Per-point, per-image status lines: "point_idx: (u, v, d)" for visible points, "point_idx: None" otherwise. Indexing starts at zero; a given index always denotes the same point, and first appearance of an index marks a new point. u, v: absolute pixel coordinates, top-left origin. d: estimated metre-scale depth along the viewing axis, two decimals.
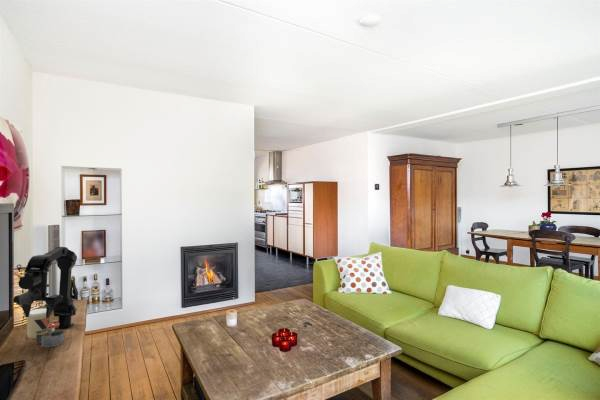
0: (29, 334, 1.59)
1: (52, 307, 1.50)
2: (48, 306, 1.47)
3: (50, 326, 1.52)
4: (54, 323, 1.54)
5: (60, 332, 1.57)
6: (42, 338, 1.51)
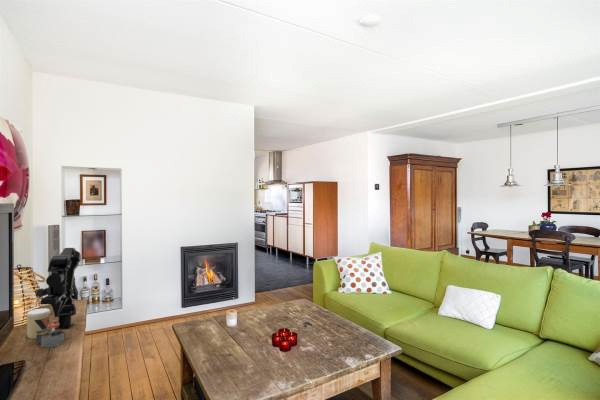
0: (29, 334, 1.59)
1: (57, 305, 1.57)
2: None
3: (50, 326, 1.52)
4: (54, 323, 1.54)
5: (60, 332, 1.57)
6: (42, 338, 1.51)
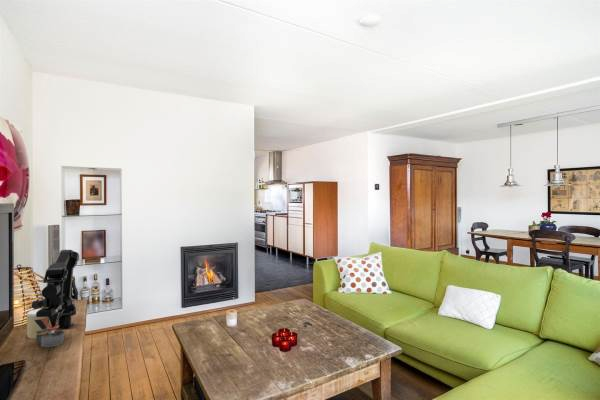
0: (29, 334, 1.59)
1: (54, 317, 1.53)
2: None
3: (50, 328, 1.52)
4: None
5: (60, 332, 1.57)
6: (42, 338, 1.51)
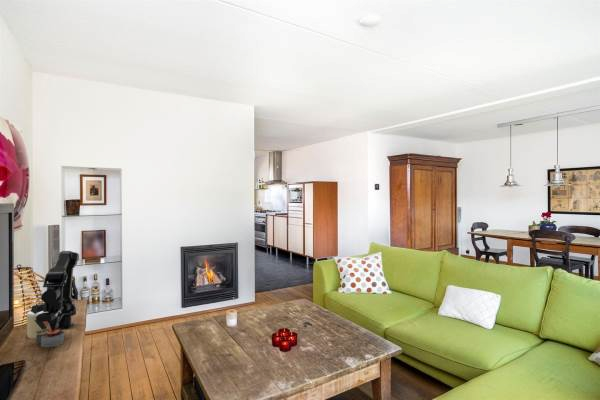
0: (29, 334, 1.59)
1: (54, 321, 1.53)
2: None
3: (50, 333, 1.52)
4: (54, 330, 1.54)
5: (60, 332, 1.57)
6: (42, 338, 1.51)
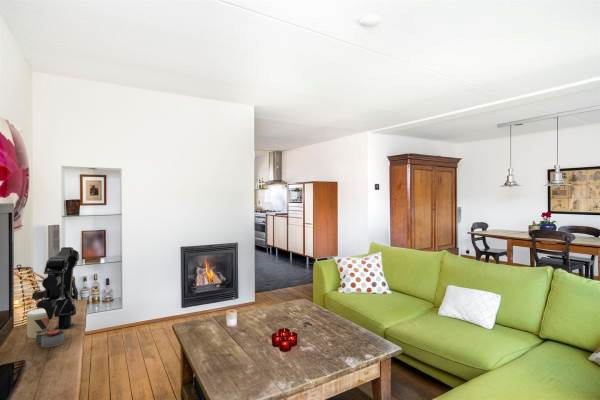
0: (29, 334, 1.59)
1: (51, 310, 1.50)
2: None
3: (50, 333, 1.52)
4: (54, 330, 1.54)
5: (60, 332, 1.57)
6: (42, 338, 1.51)
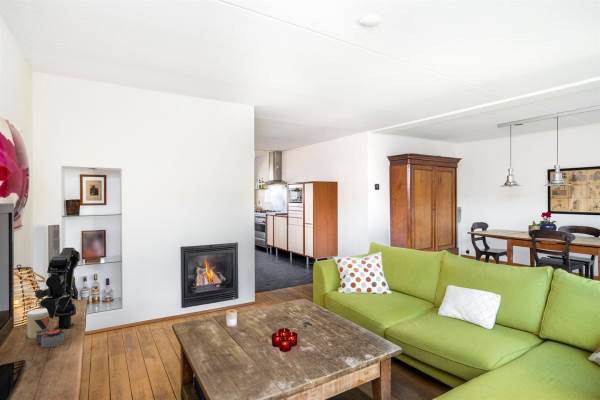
0: (29, 334, 1.59)
1: (52, 309, 1.52)
2: None
3: (50, 333, 1.52)
4: (54, 330, 1.54)
5: (60, 332, 1.57)
6: (42, 338, 1.51)
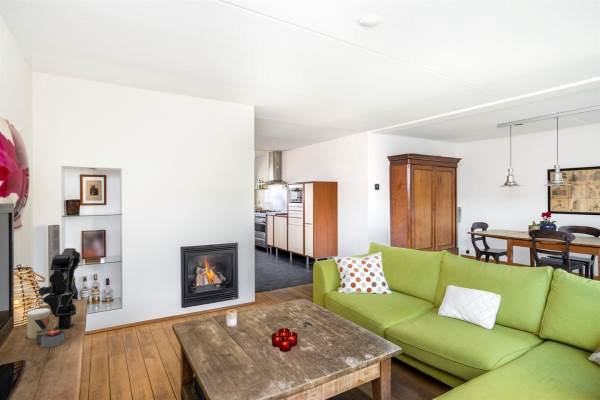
0: (29, 334, 1.59)
1: (55, 306, 1.55)
2: None
3: (50, 333, 1.52)
4: (54, 330, 1.54)
5: (60, 332, 1.57)
6: (42, 338, 1.51)
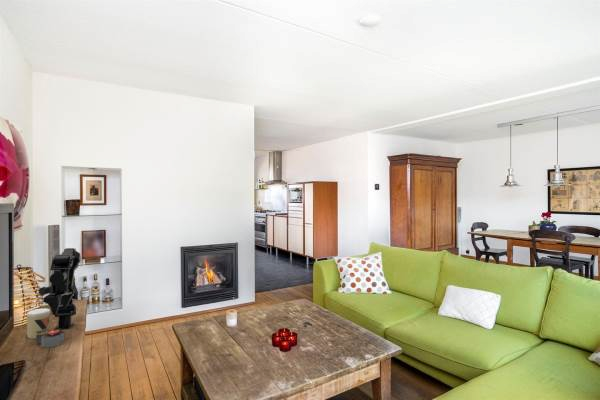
0: (29, 334, 1.59)
1: (55, 306, 1.55)
2: None
3: (50, 333, 1.52)
4: (54, 330, 1.54)
5: (60, 332, 1.57)
6: (42, 338, 1.51)
